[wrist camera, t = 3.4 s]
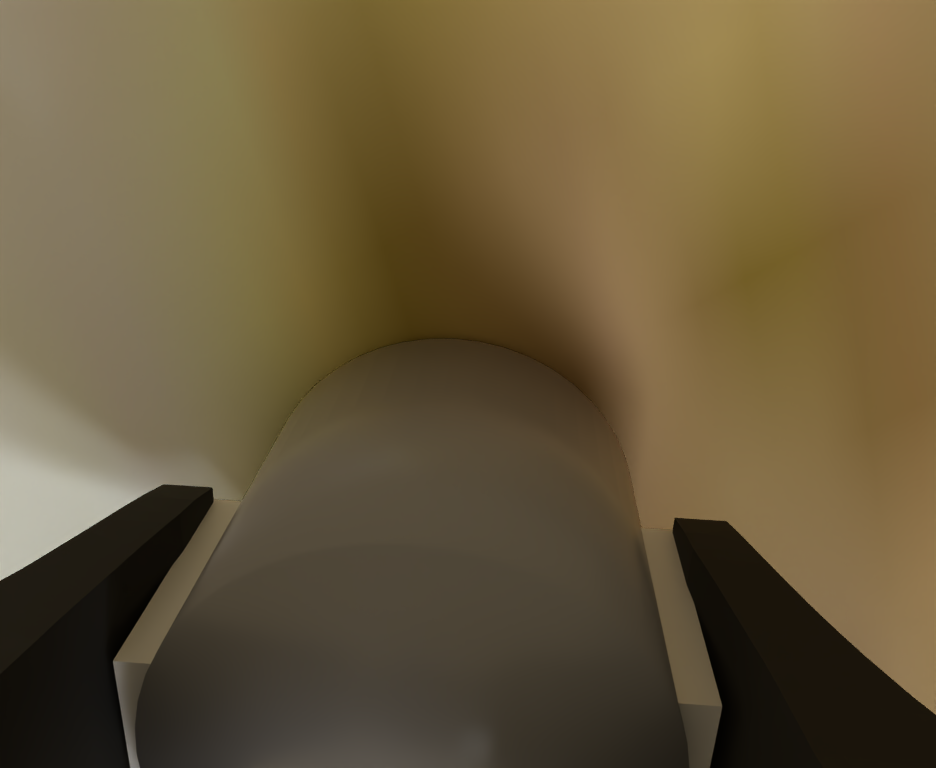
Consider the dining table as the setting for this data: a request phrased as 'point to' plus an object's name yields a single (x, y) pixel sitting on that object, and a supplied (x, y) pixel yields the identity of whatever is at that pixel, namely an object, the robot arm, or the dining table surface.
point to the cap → (426, 590)
